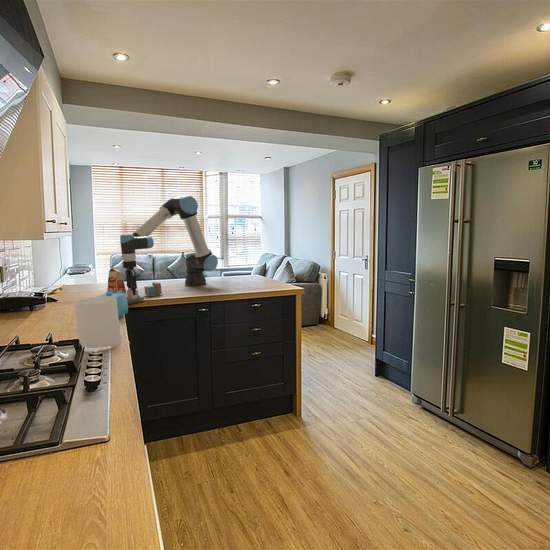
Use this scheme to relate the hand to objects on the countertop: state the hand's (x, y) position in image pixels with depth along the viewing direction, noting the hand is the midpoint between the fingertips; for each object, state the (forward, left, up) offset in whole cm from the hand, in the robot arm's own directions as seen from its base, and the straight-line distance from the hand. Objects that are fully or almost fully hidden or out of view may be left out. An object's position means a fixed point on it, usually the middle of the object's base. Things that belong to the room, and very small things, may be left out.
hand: (133, 299), depth 229 cm
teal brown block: (-15, -10, -1) cm, 18 cm away
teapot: (+19, +34, -1) cm, 39 cm away
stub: (0, 0, 0) cm, 0 cm away
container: (+33, +75, -2) cm, 82 cm away
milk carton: (+4, -21, -1) cm, 21 cm away
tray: (0, 0, -1) cm, 1 cm away
